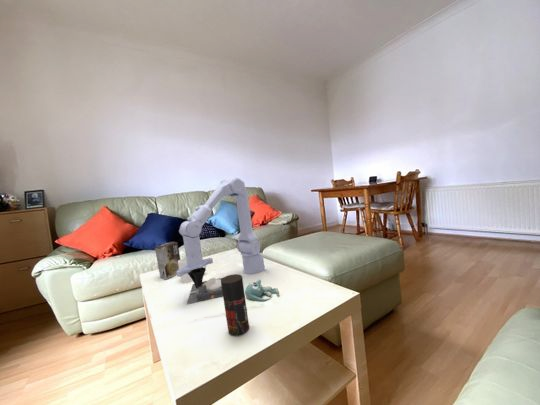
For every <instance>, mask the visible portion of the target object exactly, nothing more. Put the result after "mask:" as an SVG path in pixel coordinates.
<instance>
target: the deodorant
mask: <svg viewBox="0 0 540 405" xmlns="http://www.w3.org/2000/svg"><path fill="white" fill-rule="evenodd" d="M221 278H222V279H221V286H222V292H223V297H222V298H223V305H224V312H225V318H226V323H227V331H228V334H229V335H230V336H231V337H232V336H233V337H239V336H243V335H245V334H246V333H247V332H248V331H249V330H250V322H249V318H248V317H249V316H248V309H247V301H246V295H245V289H244V287H245V286H244V280H243V275H241V274H229V275H226V276H224V278H223V277H221Z"/></svg>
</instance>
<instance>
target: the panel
mask: <svg viewBox="0 0 540 405" xmlns="http://www.w3.org/2000/svg"><path fill="white" fill-rule="evenodd" d="M224 277H225V276H224ZM224 277H219V278H217V279H220V280H221V279H222V278H224ZM206 281H207V280H204V281H203V280H202V284H204V283H205V282H206ZM219 298H223V292H222V288H221V289H216V290H212V291H207V292H204V293H199V289H197V288H196V287H195V284H194V283H193V284H192V286H191V289H190V291H189V295H188V298H187V302H186V305H187V306H188V305H190V304H191V305H192V304H197V303H202V302H205V301H211V300H215V299H219Z"/></svg>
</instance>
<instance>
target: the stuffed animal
mask: <svg viewBox="0 0 540 405" xmlns="http://www.w3.org/2000/svg"><path fill="white" fill-rule="evenodd" d="M261 283H262V280H261V279H258V280H257V281H256V282H255V281H254V282H251V283H249V282H248V285H247V286H246V288H245V289H244V294H245V298H246V299H247V300H252V301H254V302H255V301H256V302H266V301H268V300H271V299H272V298H273V295H272V294H275V295H279V294H280V291H279V289H278V287H274V288H273V287H272V286H263V285H262V284H261ZM262 295H266V296H267V298H264V297H261V296H262ZM268 297H269V298H268Z"/></svg>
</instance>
